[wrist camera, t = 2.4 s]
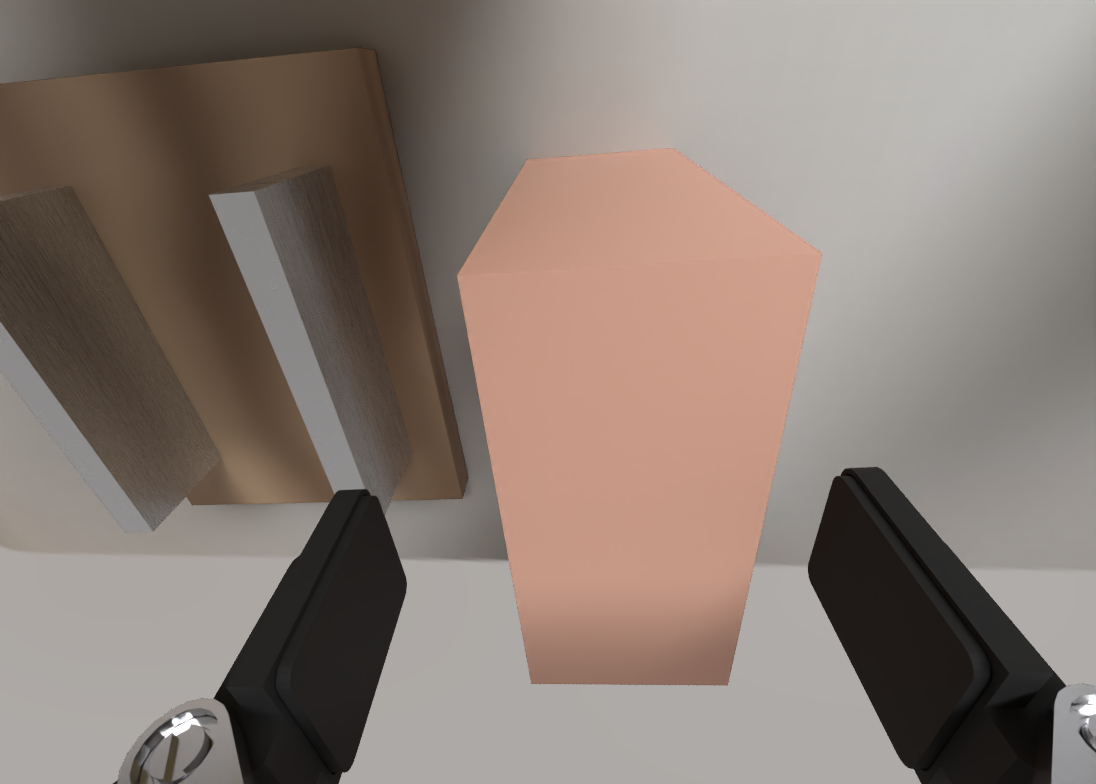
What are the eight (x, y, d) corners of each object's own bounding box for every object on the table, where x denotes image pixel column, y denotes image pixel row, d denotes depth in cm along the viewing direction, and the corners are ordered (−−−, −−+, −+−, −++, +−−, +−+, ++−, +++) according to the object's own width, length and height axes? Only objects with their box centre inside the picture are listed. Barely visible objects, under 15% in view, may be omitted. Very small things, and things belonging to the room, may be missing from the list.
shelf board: (374, 50, 16) (357, 47, 14) (468, 477, 25) (462, 498, 24) (-24, 90, 17) (-74, 91, 15) (210, 484, 26) (191, 504, 25)
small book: (673, 147, 17) (822, 253, 7) (659, 413, 23) (728, 685, 12) (527, 159, 17) (457, 275, 7) (551, 417, 23) (531, 683, 13)
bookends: (329, 164, 16) (254, 191, 12) (412, 451, 22) (379, 527, 19) (39, 188, 17) (-116, 220, 13) (198, 458, 23) (125, 532, 20)
